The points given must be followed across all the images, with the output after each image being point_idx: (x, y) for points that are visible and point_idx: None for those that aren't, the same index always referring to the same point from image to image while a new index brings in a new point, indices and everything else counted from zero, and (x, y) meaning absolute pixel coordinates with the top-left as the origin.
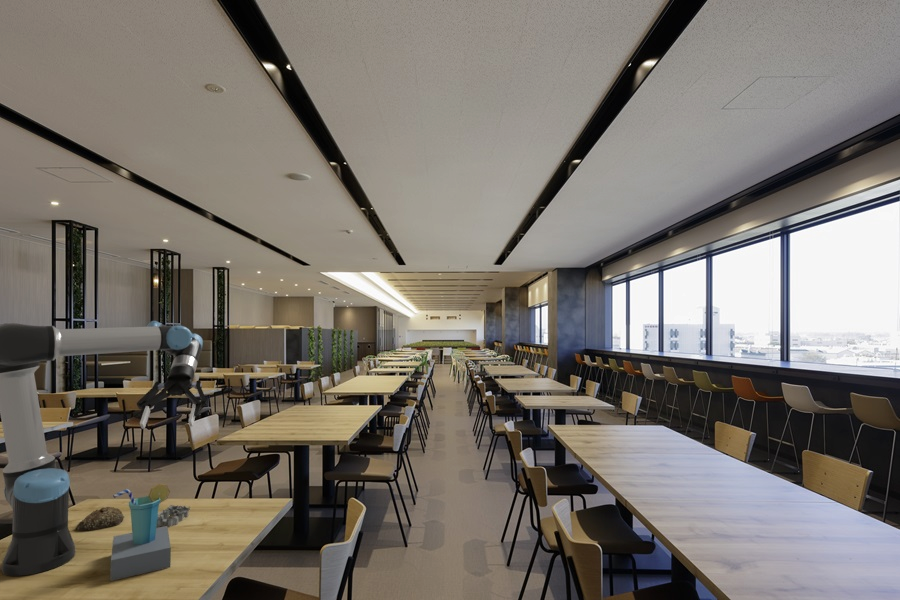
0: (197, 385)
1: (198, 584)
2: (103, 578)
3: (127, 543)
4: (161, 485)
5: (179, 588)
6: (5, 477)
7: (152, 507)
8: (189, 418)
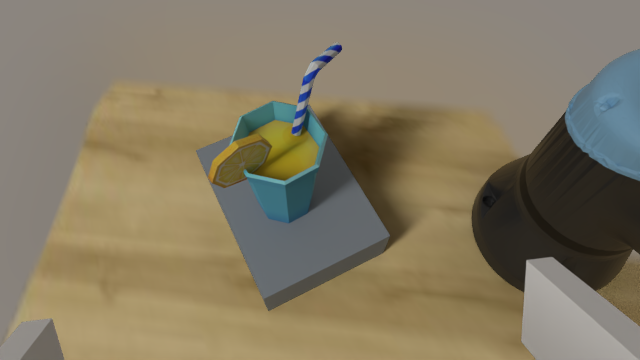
0: None
1: (123, 101)
2: None
3: (320, 184)
4: (229, 147)
5: (157, 91)
6: None
7: (245, 130)
8: (27, 346)
